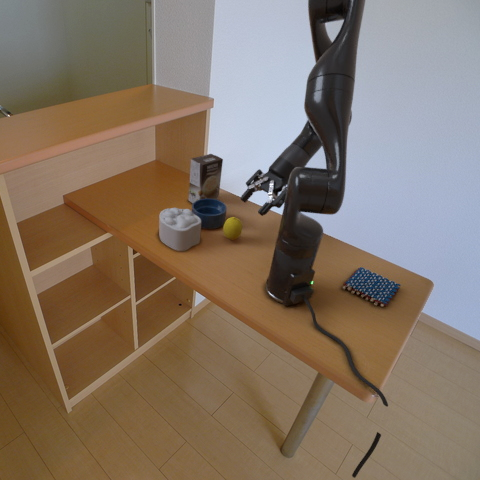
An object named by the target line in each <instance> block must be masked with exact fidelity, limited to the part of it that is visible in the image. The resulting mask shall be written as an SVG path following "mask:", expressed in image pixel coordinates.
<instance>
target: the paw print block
mask: <svg viewBox="0 0 480 480" xmlns="http://www.w3.org/2000/svg"><path fill="white" fill-rule="evenodd" d="M158 217H159V218H158V226H159V227H158V231H159V233H158V235H159V236H158V237H159V240H160V242H162V243H163V244H164V245H166V246H167V247H169V248H170V249H172V250H175V251H178V252H185V251H188V250H189V249H191V248H192V247H194V246H197V245H199V244H200V242H201V231H202V228H201V219H200V218H199V217H198V216H196V215H195V214H193V213H192V209H189V208H178V207H171V208H165V209H163V210H161V211H160V213H159V216H158Z"/></svg>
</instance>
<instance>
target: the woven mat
mask: <svg viewBox="0 0 480 480" xmlns="http://www.w3.org/2000/svg"><path fill="white" fill-rule="evenodd" d="M342 285H343V286H342V290H348V291H351V292H350V293H351V294H352V295H354V294H355V293H356V295H357V296H359V295H360V294H361V295H360V297H361V298H362V299H363V298H364V297H365V300H366V301H369V302H372V303H373V302H374V303H373V306H376V307H377V306H378V305H379V304H380V307H381V308H383V307H387V305H389V303H390V301H391V300H392V299H393V297H394V296H395V294H396V293H397V292H398V291H399V290H400V289H401V288H400V287H401V286H402V285H401V284H400V283H397V282H396V281H395V280H389V278H388V277H384V276H383V275H381V274H378V273H377V272H373V271H371V270H370V269H367V268H365V267H363V266H361V267H358V268H357V269H356V270H354V272H353V273H352V274H351V275H350V276H349V277H348V279H346V281H345V282H343V284H342Z"/></svg>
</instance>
